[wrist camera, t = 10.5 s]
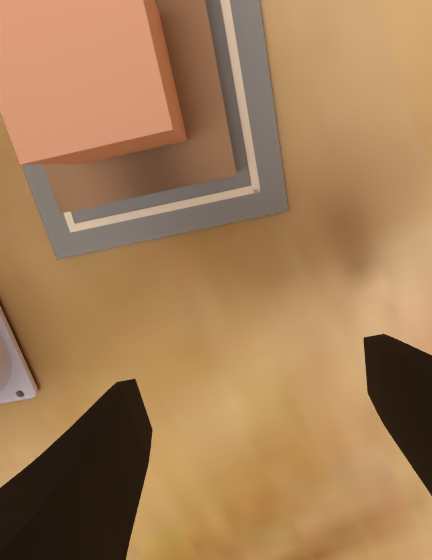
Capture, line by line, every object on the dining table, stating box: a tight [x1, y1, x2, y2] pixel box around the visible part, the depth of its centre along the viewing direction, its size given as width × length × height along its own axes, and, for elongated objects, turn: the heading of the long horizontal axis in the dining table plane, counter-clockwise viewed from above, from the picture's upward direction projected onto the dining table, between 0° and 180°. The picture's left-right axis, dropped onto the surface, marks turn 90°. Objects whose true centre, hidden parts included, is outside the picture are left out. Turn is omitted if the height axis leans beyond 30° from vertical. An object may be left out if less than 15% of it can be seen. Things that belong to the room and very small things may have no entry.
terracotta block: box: [0, 0, 187, 165], centre depth 11 cm, size 4×4×5 cm
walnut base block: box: [43, 0, 237, 214], centre depth 15 cm, size 8×8×3 cm
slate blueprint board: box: [22, 0, 289, 259], centre depth 17 cm, size 13×13×1 cm
